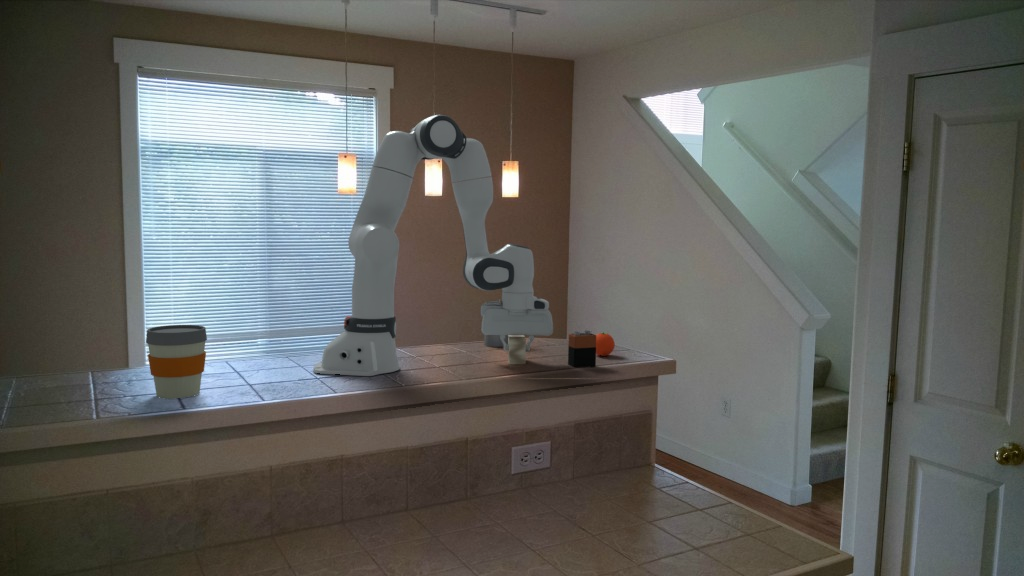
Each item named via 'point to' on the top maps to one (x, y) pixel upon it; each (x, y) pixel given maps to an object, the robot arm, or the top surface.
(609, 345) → the clementine
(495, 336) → the pillar candle
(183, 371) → the reusable coffee cup
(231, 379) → the top surface
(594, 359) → the battery
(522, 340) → the block
